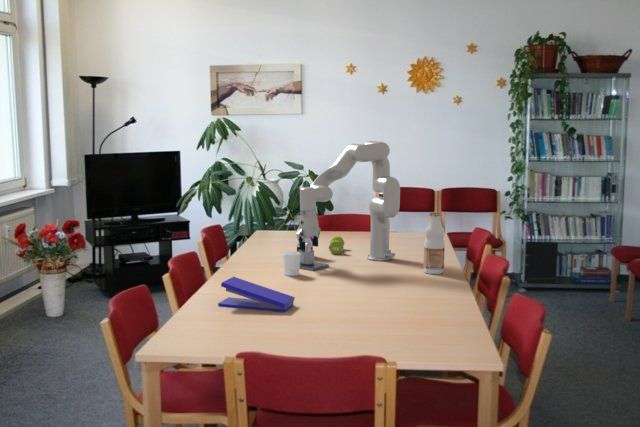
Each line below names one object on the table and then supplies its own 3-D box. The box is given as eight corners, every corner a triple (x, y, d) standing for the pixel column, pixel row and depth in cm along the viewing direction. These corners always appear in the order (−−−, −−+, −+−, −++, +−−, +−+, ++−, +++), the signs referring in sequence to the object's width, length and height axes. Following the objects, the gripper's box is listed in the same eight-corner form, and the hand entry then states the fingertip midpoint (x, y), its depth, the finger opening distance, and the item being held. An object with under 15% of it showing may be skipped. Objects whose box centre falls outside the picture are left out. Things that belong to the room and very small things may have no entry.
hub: (317, 261, 356) (317, 251, 355) (306, 263, 351) (306, 253, 350) (306, 259, 361) (306, 249, 360) (295, 261, 356) (295, 251, 355)
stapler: (229, 300, 295) (228, 276, 293) (295, 305, 287) (295, 281, 285) (217, 307, 284) (216, 282, 282) (285, 313, 276) (285, 288, 274)
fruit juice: (419, 271, 346) (420, 212, 342) (434, 269, 351) (436, 211, 347) (432, 275, 338) (434, 215, 334) (448, 273, 343) (450, 213, 339)
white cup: (298, 276, 334) (298, 255, 332) (281, 276, 335) (281, 254, 334) (301, 273, 341) (302, 251, 340) (285, 272, 343) (285, 251, 341)
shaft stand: (328, 266, 355) (328, 243, 353) (313, 270, 346) (313, 247, 344) (303, 262, 365) (303, 239, 363) (287, 266, 355) (287, 243, 354)
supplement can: (313, 255, 382) (313, 226, 380) (311, 258, 374) (311, 229, 372) (297, 254, 383) (298, 226, 381) (295, 258, 375) (295, 229, 372)
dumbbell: (343, 255, 384) (343, 241, 383) (328, 254, 384) (328, 241, 383) (344, 249, 400) (344, 236, 399) (330, 248, 401) (330, 235, 400)
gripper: (302, 216, 343) (303, 252, 345) (325, 211, 356) (326, 245, 359) (290, 214, 347) (291, 250, 350) (313, 209, 361) (314, 244, 363)
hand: (309, 248), depth 354 cm, fingers open, 9 cm apart
